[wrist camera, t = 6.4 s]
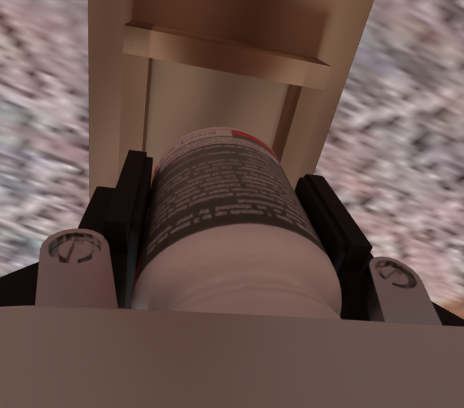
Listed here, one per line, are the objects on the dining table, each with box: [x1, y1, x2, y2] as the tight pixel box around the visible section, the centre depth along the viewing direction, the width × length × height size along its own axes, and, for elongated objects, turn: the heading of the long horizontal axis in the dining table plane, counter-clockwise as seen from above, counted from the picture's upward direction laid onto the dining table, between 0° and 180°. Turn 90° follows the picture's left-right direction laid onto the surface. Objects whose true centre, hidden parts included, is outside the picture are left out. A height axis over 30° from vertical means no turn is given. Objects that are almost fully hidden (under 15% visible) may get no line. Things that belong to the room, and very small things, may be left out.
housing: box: [88, 0, 374, 200], centre depth 21 cm, size 12×24×4 cm, turn 169°
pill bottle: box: [131, 127, 342, 320], centre depth 9 cm, size 5×5×8 cm
